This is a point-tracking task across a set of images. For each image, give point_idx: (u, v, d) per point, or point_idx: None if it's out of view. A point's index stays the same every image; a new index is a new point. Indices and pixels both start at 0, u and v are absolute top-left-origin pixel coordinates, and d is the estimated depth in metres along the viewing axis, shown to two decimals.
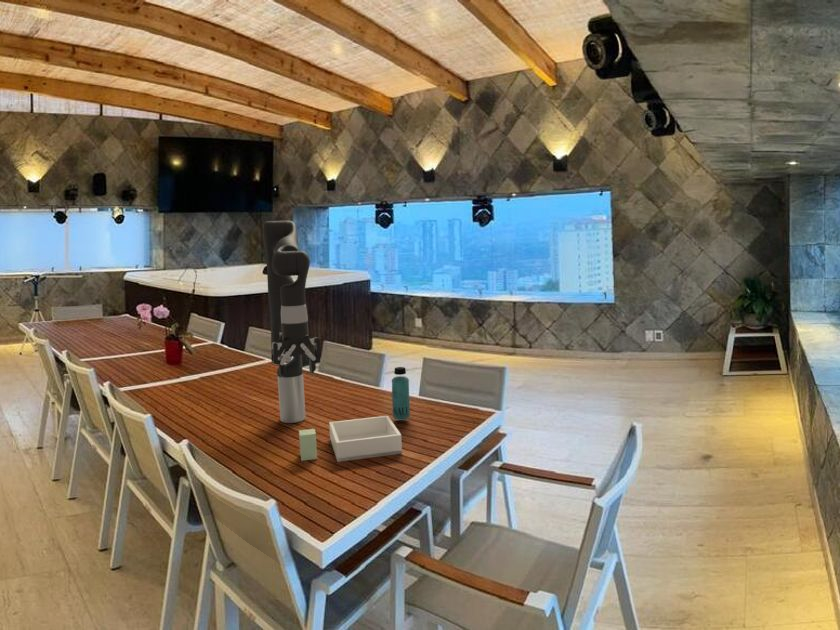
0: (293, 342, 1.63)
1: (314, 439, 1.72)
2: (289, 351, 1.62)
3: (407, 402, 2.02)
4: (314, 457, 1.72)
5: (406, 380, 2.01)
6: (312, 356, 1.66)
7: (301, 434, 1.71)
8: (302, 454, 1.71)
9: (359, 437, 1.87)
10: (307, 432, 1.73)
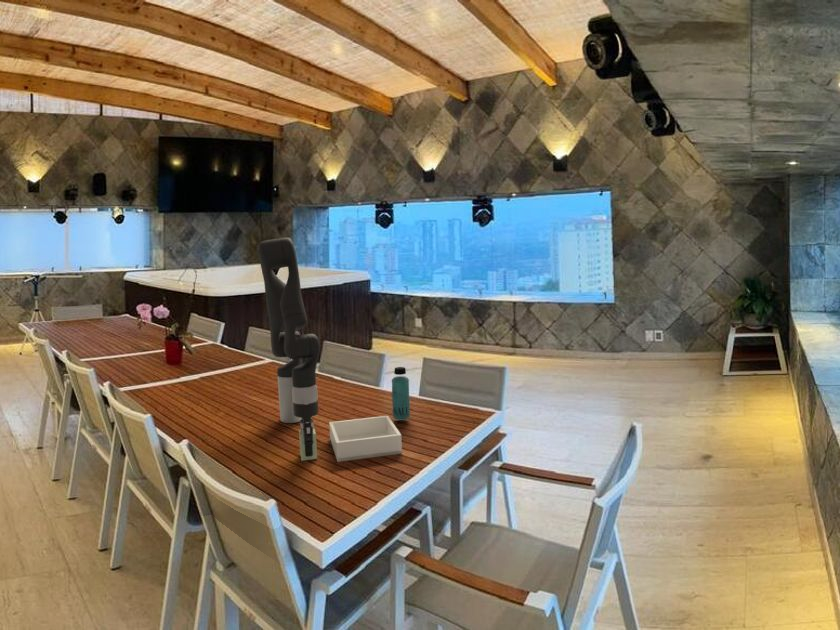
0: None
1: (314, 439, 1.72)
2: None
3: (407, 402, 2.02)
4: (314, 457, 1.72)
5: (406, 380, 2.01)
6: None
7: (301, 434, 1.71)
8: (302, 454, 1.71)
9: (359, 437, 1.87)
10: None
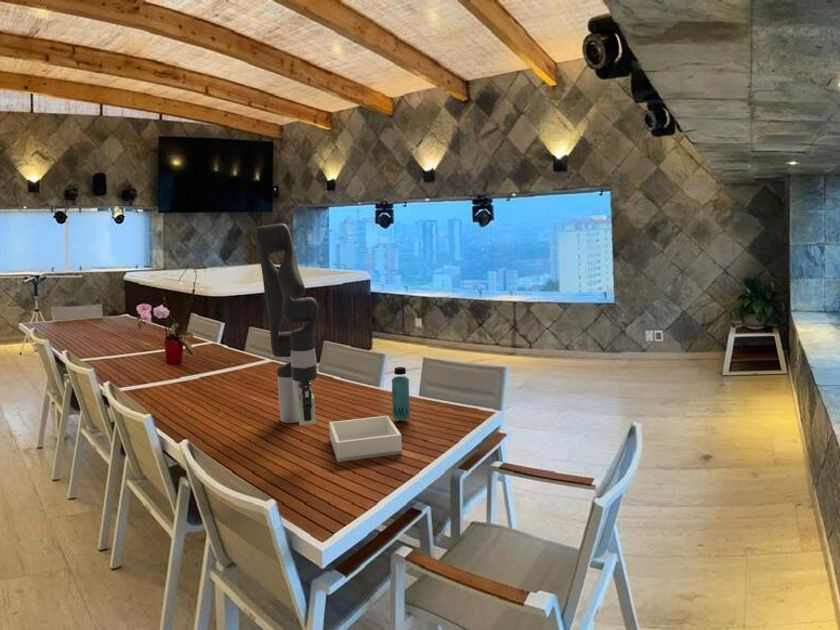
0: None
1: (313, 403, 1.70)
2: (311, 393, 1.70)
3: (407, 402, 2.02)
4: (313, 422, 1.71)
5: (406, 380, 2.01)
6: None
7: (300, 398, 1.70)
8: (301, 418, 1.70)
9: (359, 437, 1.87)
10: None
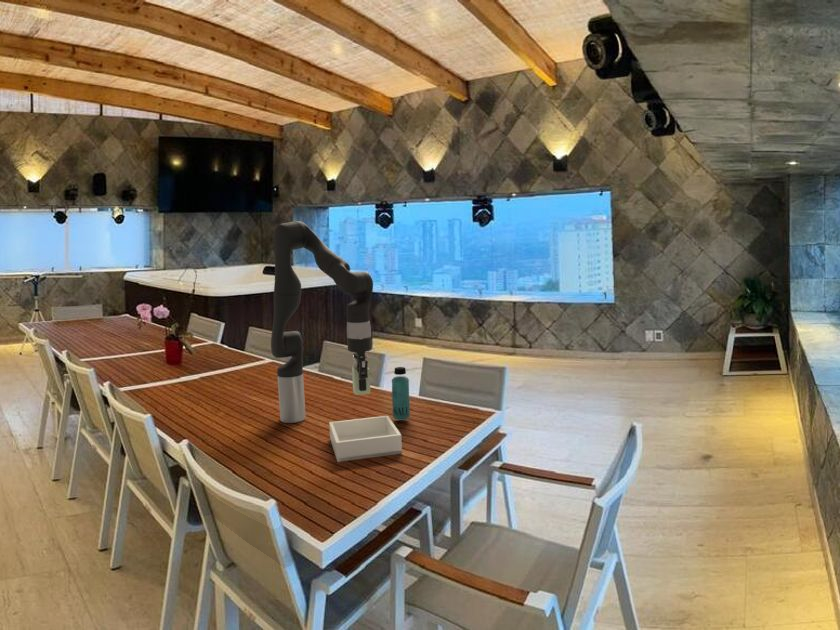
0: None
1: (368, 374, 1.76)
2: None
3: (407, 402, 2.02)
4: (367, 392, 1.77)
5: (406, 380, 2.01)
6: None
7: (355, 369, 1.76)
8: (356, 388, 1.76)
9: (359, 437, 1.87)
10: None
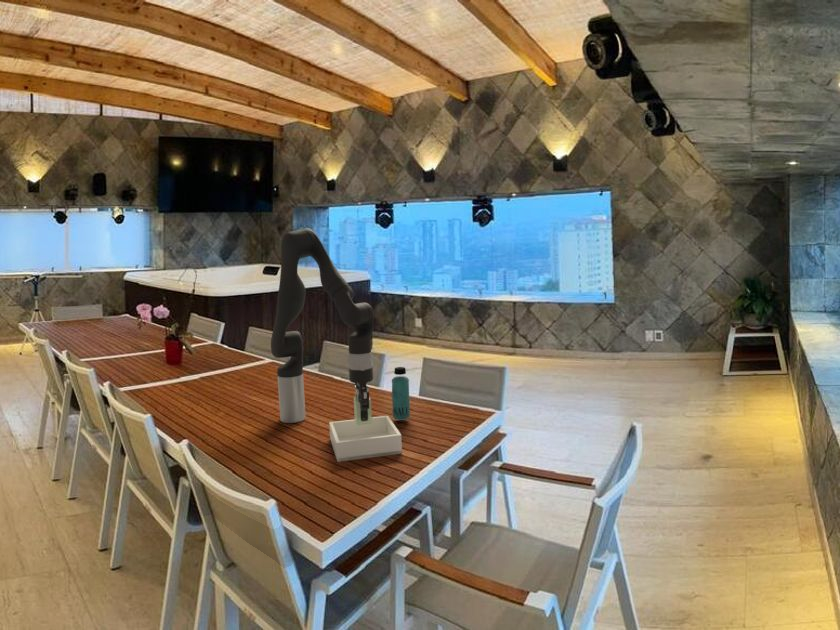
0: None
1: (369, 404, 1.78)
2: None
3: (407, 402, 2.02)
4: (369, 422, 1.79)
5: (406, 380, 2.01)
6: None
7: (357, 399, 1.78)
8: (358, 419, 1.77)
9: (359, 437, 1.87)
10: None
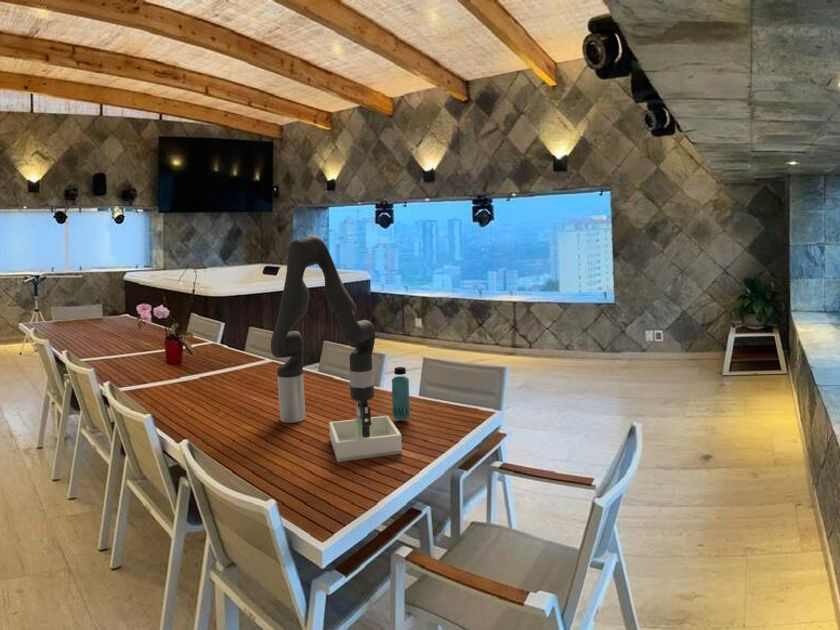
0: None
1: (370, 426, 1.79)
2: None
3: (407, 402, 2.02)
4: None
5: (406, 380, 2.01)
6: None
7: (358, 421, 1.79)
8: None
9: None
10: None
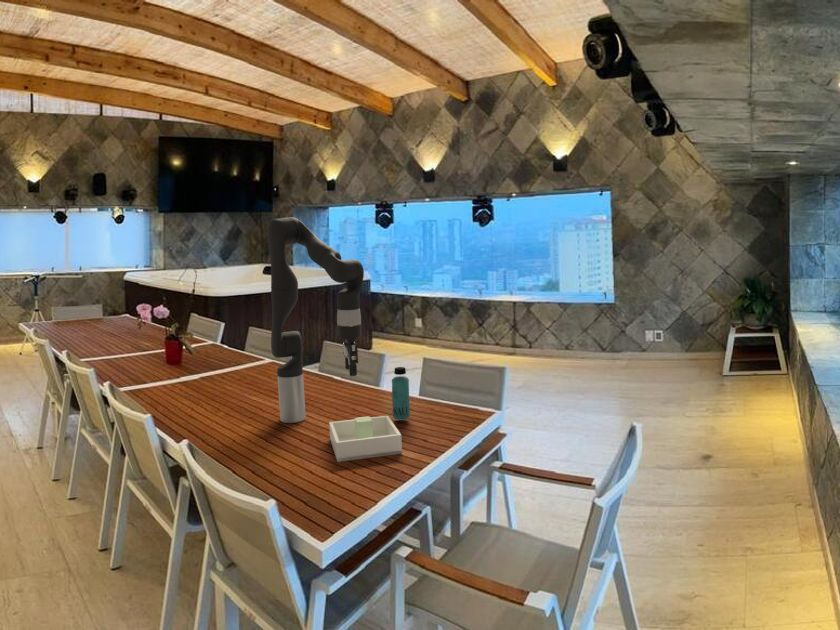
0: None
1: (370, 426, 1.79)
2: None
3: (407, 402, 2.02)
4: None
5: (406, 380, 2.01)
6: None
7: (358, 421, 1.79)
8: None
9: None
10: (363, 419, 1.80)
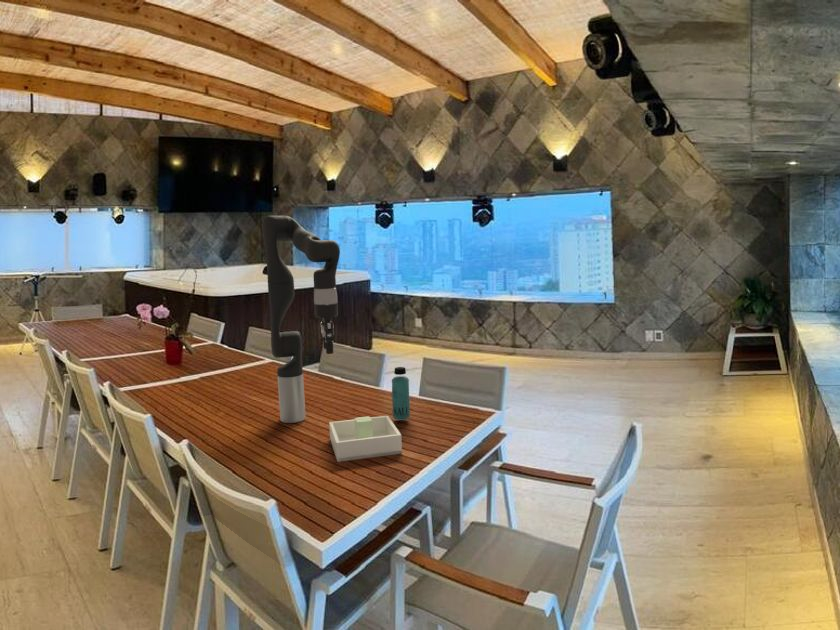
0: None
1: (370, 426, 1.79)
2: (333, 329, 1.82)
3: (407, 402, 2.02)
4: None
5: (406, 380, 2.01)
6: None
7: (358, 421, 1.79)
8: None
9: None
10: (363, 419, 1.80)
